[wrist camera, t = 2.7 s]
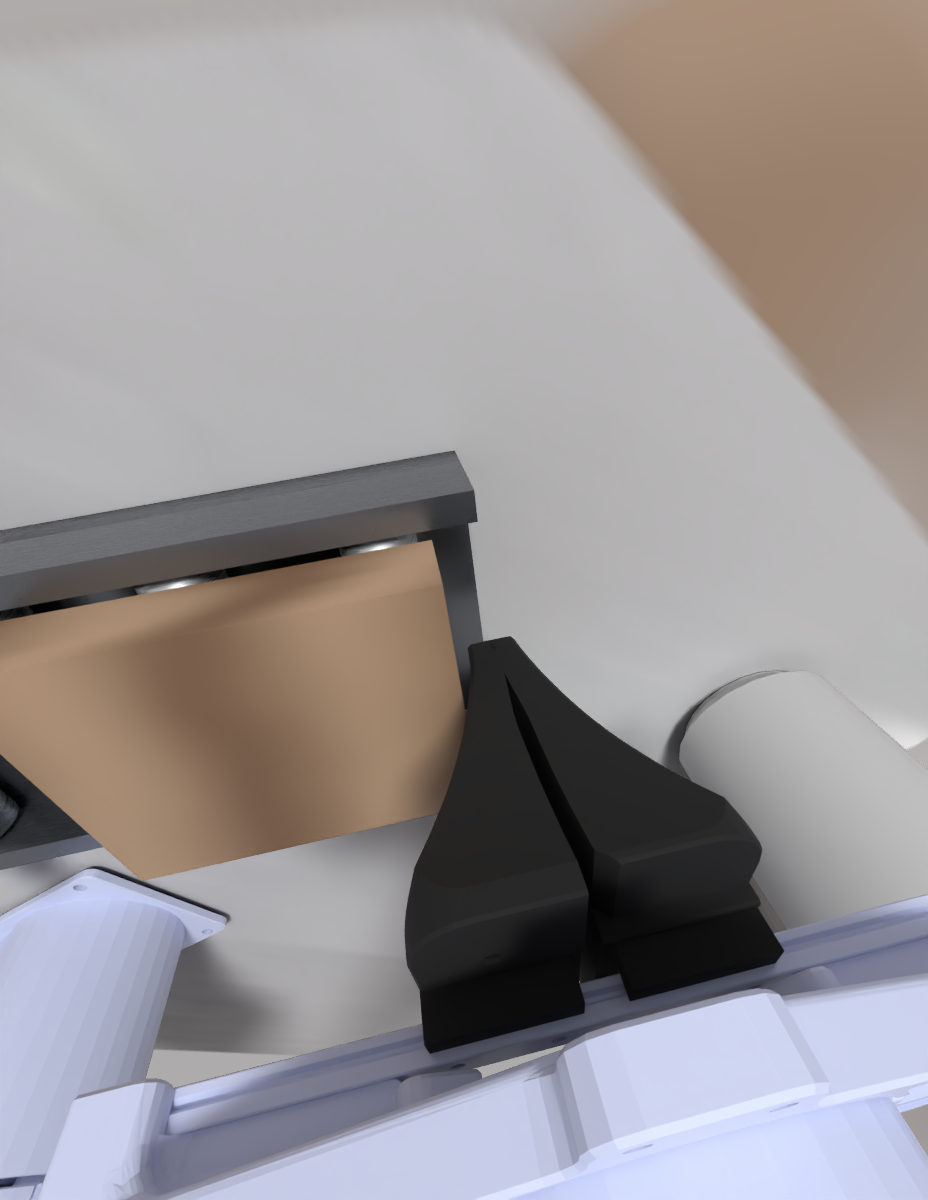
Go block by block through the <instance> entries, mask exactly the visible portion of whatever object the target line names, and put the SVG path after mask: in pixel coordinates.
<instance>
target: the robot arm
mask: <svg viewBox="0 0 928 1200" xmlns="http://www.w3.org/2000/svg"><path fill="white" fill-rule="evenodd" d="M468 654H469V661H470V689H469V701H468V708H467V714H466V720H465V726H464V731H463V736H462V741H461V745H460V749H459V753H458V757H457V761H456V764H455V767H454V771H453V774H452V777H451V781H450V784H449V787H448V790H447V793H446V795H445V798H444V801H443V803H442V806H441V808H440V811H439V814H438V816H437V819H436V821H435V824H434V826H433V829H432V831H431V833H430V836H429V838H428V840H427V842H426V844H425V846H424V848H423V851H422V853H421V855H420V857H419V859H418V861H417V863H416V866H415V868H414V873H413V878H412V882H411V887H410V892H409V897H408V902H407V909H406V917H405V947H406V960H407V966H408V968H409V970H410V972H411V974H412V976H413V978H414V980H415V982H416V984H417V985H418V987H419V989H420V999H421V1012H422V1024H420V1025H417V1026H413V1027H409V1028H405V1029H401V1030H397V1031H393V1032H389V1033H386V1034H382V1035H378V1036H374V1037H370V1038H366V1039H362V1040H358V1041H354V1042H351V1043H347V1044H343V1045H339V1046H335V1047H331V1048H327V1049H323V1050H320V1051H316V1052H312V1053H308V1054H304V1055H300V1056H296V1057H292V1058H289V1059H285V1060H281V1061H277V1062H273V1063H269V1064H265V1065H261V1066H257V1067H254V1068H250V1069H246V1070H242V1071H238V1072H234V1073H231V1074H226V1075H223V1076H219V1077H215V1078H211V1079H207V1080H203V1081H199V1082H195V1083H192V1084H188V1085H184V1086H180V1087H176V1088H173V1086H172V1085H171V1084H169V1083H168V1082H167V1081H164V1080H161V1079H146V1075H147V1071H148V1068H149V1064H150V1061H151V1057H152V1053H153V1050H154V1046H155V1043H156V1039H157V1035H158V1032H159V1028H160V1025H161V1021H162V1017H163V1014H164V1010H165V1007H166V1003H167V999H168V996H169V992H170V989H171V985H172V981H173V978H174V974H175V970H176V967H177V963H178V960H179V956H180V952H181V950H183V949H185V948H187V947H189V946H191V945H193V944H195V943H197V942H199V941H201V940H203V939H205V938H207V937H209V936H211V935H213V934H215V933H217V932H219V931H221V930H223V929H224V928H225V926H226V922H227V919H226V918H225V917H224V916H221V915H219V914H216V913H213V912H211V911H208V910H205V909H203V908H200V907H197V906H195V905H192V904H189V903H187V902H184V901H181V900H179V899H176V898H173V897H171V896H168V895H165V894H163V893H160V892H158V891H155V890H152V889H150V888H147V887H144V886H142V885H139V884H136V883H134V882H131V881H128V880H126V879H123V878H120V877H118V876H115V875H112V874H110V873H107V872H104V871H102V870H98V869H86V870H83V871H81V872H79V873H77V874H76V875H74V876H72V877H70V878H68V879H67V880H65V881H63V882H61V883H59V884H58V885H56V886H54V887H52V888H50V889H49V890H47V891H45V892H43V893H41V894H40V895H38V896H36V897H34V898H32V899H30V900H29V901H27V902H25V903H23V904H21V905H20V906H18V907H16V908H14V909H12V910H11V911H9V912H7V913H5V914H3V915H2V916H0V1200H928V1156H927V1155H926V1153H925V1152H924V1150H923V1149H922V1147H921V1145H920V1144H919V1143H918V1141H917V1139H916V1138H915V1136H914V1134H913V1133H912V1131H911V1130H910V1128H909V1127H908V1125H907V1124H906V1122H905V1120H904V1119H903V1117H902V1116H901V1114H900V1113H901V1112H904V1111H907V1110H911V1109H914V1108H917V1107H920V1106H923V1105H927V1104H928V894H925V895H921V896H917V897H913V898H909V899H905V900H902V901H898V902H894V903H890V904H886V905H882V906H878V907H874V908H871V909H867V910H863V911H859V912H855V913H851V914H847V915H843V916H840V917H836V918H832V919H828V920H824V921H820V922H816V923H812V924H808V925H805V926H801V927H797V928H793V929H789V930H785V931H781V932H777V933H773V931H772V930H771V928H770V927H769V925H768V923H767V922H766V920H765V919H764V917H763V915H762V914H761V912H760V910H759V909H758V907H760V905H761V902H760V899H759V897H758V895H757V894H756V892H755V891H754V889H753V888H752V886H751V884H750V883H749V882H750V880H751V878H752V876H753V874H754V872H755V870H756V868H757V866H758V864H759V862H760V858H761V854H762V846H761V843H760V841H759V840H758V839H757V837H756V836H755V834H754V833H753V831H752V830H751V828H750V827H749V826H748V824H747V823H746V822H745V821H744V819H743V818H742V817H741V816H740V815H739V813H738V812H737V811H736V810H735V809H734V808H733V806H732V805H731V804H730V803H729V802H728V801H727V800H726V798H725V797H723V796H721V795H719V794H717V793H714V792H712V791H710V790H708V789H706V788H704V787H702V786H700V785H698V784H696V783H694V782H692V781H690V780H688V779H685V778H683V777H681V776H680V775H678V774H676V773H674V772H673V771H671V770H669V769H667V768H665V767H664V766H662V765H660V764H658V763H657V762H655V761H653V760H652V759H650V758H649V757H647V756H645V755H644V754H642V753H641V752H639V751H637V750H636V749H634V748H633V747H631V746H630V745H628V744H626V743H625V742H623V741H622V740H620V739H619V738H618V737H616V736H615V735H613V734H612V733H611V732H609V731H608V730H606V729H605V728H604V727H602V726H601V725H600V724H599V723H597V722H596V721H595V720H593V719H592V718H591V717H590V716H588V715H587V714H586V713H585V712H584V711H582V710H581V709H580V708H579V707H578V706H576V705H575V704H574V703H573V702H572V701H571V700H570V699H569V698H568V697H566V696H565V695H564V694H563V693H562V692H561V691H560V690H559V689H558V688H557V687H556V686H555V685H554V684H553V683H552V682H551V681H550V680H549V679H548V678H547V677H546V676H545V675H544V674H543V673H542V672H541V671H540V670H539V669H538V668H537V666H536V665H535V664H534V663H533V662H532V661H531V660H530V659H529V657H528V656H527V655H526V654H525V653H524V651H523V650H522V649H521V648H520V646H519V645H518V644H517V642H516V641H515V640H514V639H513V638H512V637H510V636H509V637H504V638H499V639H494V640H489V641H484V642H479V643H474V644H471V645H470V646H469V647H468ZM580 976H581V980H582V983H579V980H580ZM564 1044H566V1045H565V1047H564V1048H563V1049H562V1050H559V1051H556V1052H553V1053H551V1054H548V1055H545V1056H542V1057H540V1058H537V1059H534V1060H531V1061H529V1062H526V1063H523V1064H520V1065H518V1066H515V1067H512V1068H509V1069H507V1070H504V1071H501V1072H499V1073H496V1074H493V1075H490V1076H488V1077H485V1078H482V1075H481V1073H480V1072H479V1071H478V1070H477V1069H473V1068H478V1067H481V1066H485V1065H489V1064H493V1063H496V1062H500V1061H504V1060H508V1059H511V1058H515V1057H519V1056H523V1055H526V1054H530V1053H534V1052H538V1051H542V1050H545V1049H549V1048H553V1047H557V1046H560V1045H564Z"/></svg>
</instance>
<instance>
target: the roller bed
mask: <svg viewBox="0 0 928 1200" xmlns="http://www.w3.org/2000/svg"><path fill="white" fill-rule="evenodd" d="M473 522H478V521H477V512H476V503H475V495H474V489H473V487H472V485H471V483H470V481H469V479H468V477H467V475H466V473H465V471H464V469H463V467H462V465H461V463H460V461H459V459H458V457H457V455H456V453H455V451H449V452H444V453H438V454H432V455H427V456H421V457H415V458H410V459H404V460H398V461H393V462H387V463H381V464H376V465H370V466H364V467H359V468H353V469H347V470H342V471H336V472H330V473H325V474H319V475H313V476H308V477H302V478H296V479H290V480H285V481H279V482H273V483H268V484H262V485H256V486H251V487H245V488H239V489H234V490H228V491H222V492H217V493H211V494H205V495H200V496H194V497H188V498H183V499H177V500H171V501H166V502H160V503H154V504H149V505H143V506H137V507H132V508H126V509H120V510H115V511H109V512H103V513H97V514H92V515H86V516H80V517H75V518H69V519H63V520H58V521H52V522H46V523H41V524H35V525H29V526H24V527H18V528H12V529H7V530H1V531H0V621H3V620H9V619H14V618H19V617H25V616H30V615H35V614H41V613H46V612H51V611H57V610H62V609H67V608H72V607H78V606H83V605H88V604H94V603H99V602H104V601H110V600H115V599H120V598H126V597H131V596H136V595H141V594H147V593H152V592H157V591H163V590H168V589H173V588H179V587H184V586H189V585H195V584H200V583H205V582H211V581H216V580H221V579H226V578H232V577H237V576H242V575H248V574H253V573H258V572H264V571H269V570H274V569H280V568H285V567H290V566H295V565H301V564H306V563H311V562H317V561H322V560H327V559H333V558H338V557H343V556H349V555H354V554H359V553H364V552H370V551H375V550H380V549H386V548H391V547H396V546H402V545H407V544H412V543H418V542H423V541H428V540H432V542H433V547H434V551H435V555H436V559H437V563H438V567H439V571H440V575H441V579H442V584H443V589H444V595H445V600H446V606H447V611H448V617H449V623H450V628H451V634H452V640H453V645H454V651H455V657H456V662H457V668H458V673H459V679H460V685H461V690H462V696H463V702H464V707H465V713H466V714H467V708H468V701H469V689H470V661H469V654H468V647H469V646H470V645H471V644H474V643H479V642H483V637H482V629H481V621H480V613H479V606H478V598H477V590H476V582H475V574H474V567H473V559H472V551H471V543H470V536H469V528H468V523H473ZM101 847H103V846H102V845H101V844H100V843H99V842H98V841H97V840H95V839H94V838H93V837H92V836H91V835H90V834H89V833H88V832H87V831H85V830H84V829H83V828H82V827H81V826H80V825H79V824H78V823H76V822H75V821H74V820H73V819H72V818H71V817H70V816H69V815H68V814H66V813H65V812H64V811H63V810H62V809H61V808H60V807H59V806H57V805H56V804H55V803H54V802H53V801H52V800H51V799H50V798H49V797H47V796H46V795H45V794H44V793H43V792H42V791H41V790H40V789H39V788H37V787H36V786H35V785H34V784H33V783H32V782H31V781H30V780H28V779H27V778H26V777H25V776H24V775H23V774H22V773H21V772H20V771H18V770H17V769H16V768H15V767H14V766H13V765H12V764H11V763H9V762H8V761H7V760H6V759H5V758H4V757H3V756H2V755H1V754H0V870H2V869H6V868H11V867H15V866H20V865H24V864H29V863H33V862H38V861H42V860H47V859H51V858H56V857H60V856H65V855H69V854H74V853H78V852H83V851H87V850H92V849H96V848H101Z"/></svg>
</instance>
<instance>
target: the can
mask: <svg viewBox="0 0 928 1200" xmlns="http://www.w3.org/2000/svg"><path fill="white" fill-rule="evenodd" d="M679 761H680V762H681V764H682V766H683V768H684V770H685V772H686V773H687V775H688V776H689V778H690V779H691V781H692V782H694V783H696V784H698V785H700V786H702V787H704V788H706V789H708V790H710V791H712V792H714V793H717V794H719V795H721V796H723V797H725V798H726V800H727V801H728V802H729V803H730V804H731V805H732V806H733V808H734V809H735V810H736V811H737V812H738V813H739V815H740V816H741V817H742V818H743V819H744V821H745V822H746V823H747V824H748V826H749V827H750V828H751V830H752V831H753V833H754V834H755V836H756V837H757V839H758V840H759V841H760V843H761V846H762V854H761V858H760V862H759V864H758V866H757V868H756V870H755V872H754V874H753V878H754V879H755V881H756V882H757V884H758V885H759V887H760V888H761V890H762V892H763V893H764V895H765V896H766V898H767V899H768V901H769V902H770V904H771V906H772V907H773V909H774V910H775V912H776V913H777V915H778V916H779V918H780V920H781V921H782V923H783V924H784V926H785V927H786V929H787V930H789V929H793V928H797V927H801V926H805V925H808V924H812V923H816V922H820V921H824V920H828V919H832V918H836V917H840V916H843V915H847V914H851V913H855V912H859V911H863V910H867V909H871V908H874V907H878V906H882V905H886V904H890V903H894V902H898V901H902V900H905V899H909V898H913V897H917V896H921V895H925V894H928V769H927V768H926V767H925V766H924V765H923V764H922V763H920V762H919V761H918V760H917V759H916V758H915V757H914V756H912V755H911V754H910V753H909V752H908V751H907V750H906V749H904V748H903V747H902V746H901V745H900V744H899V743H898V742H896V741H895V740H894V739H893V738H892V737H891V736H890V735H889V734H887V733H886V732H885V731H884V730H883V729H882V728H881V727H879V726H878V725H877V724H876V723H875V722H874V721H873V720H871V719H870V718H869V717H868V716H867V715H866V714H865V713H864V712H862V711H861V710H860V709H859V708H858V707H857V706H856V705H854V704H853V703H852V702H851V701H850V700H849V699H848V698H846V697H845V696H844V695H843V694H842V693H841V692H840V691H838V690H837V689H836V688H835V687H834V686H833V685H832V684H831V683H829V682H828V681H827V680H826V679H825V678H824V677H823V676H820V675H817V674H813V673H810V672H806V671H795V672H782V671H768V672H759V673H756V674H752V675H749V676H745V677H742V678H740V679H738V680H736V681H734V682H732V683H730V684H728V685H726V686H724V687H722V688H721V689H719V690H718V691H717V692H715V693H714V694H713V695H711V696H710V697H709V698H707V699H706V700H705V701H704V702H703V703H702V704H701V705H700V706H699V707H698V709H697V710H696V711H695V712H694V713H693V714H692V716H691V718H690V720H689V722H688V724H687V726H686V732H685V736H684V738H683V740H682V742H681V744H680V755H679Z"/></svg>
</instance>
